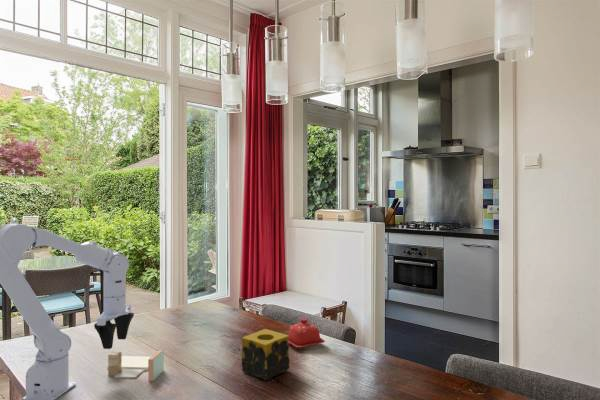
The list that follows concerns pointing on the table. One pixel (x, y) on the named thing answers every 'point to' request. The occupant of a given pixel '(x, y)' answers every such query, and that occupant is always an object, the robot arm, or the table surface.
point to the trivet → (134, 362)
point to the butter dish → (304, 334)
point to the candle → (265, 354)
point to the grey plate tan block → (120, 367)
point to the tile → (155, 365)
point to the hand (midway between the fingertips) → (115, 343)
